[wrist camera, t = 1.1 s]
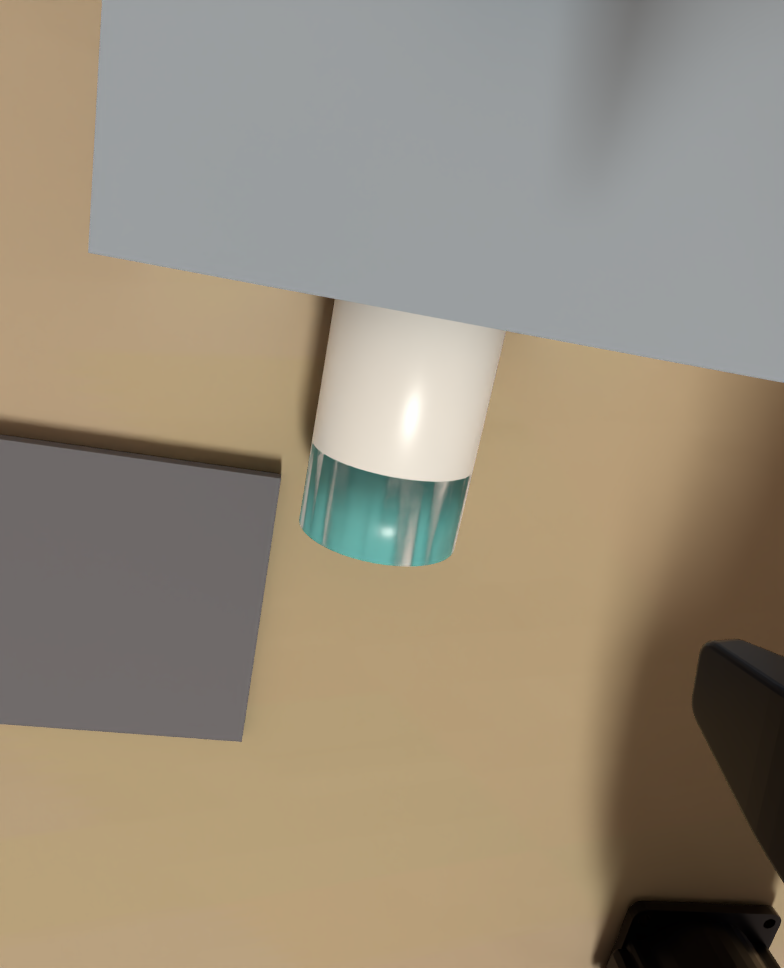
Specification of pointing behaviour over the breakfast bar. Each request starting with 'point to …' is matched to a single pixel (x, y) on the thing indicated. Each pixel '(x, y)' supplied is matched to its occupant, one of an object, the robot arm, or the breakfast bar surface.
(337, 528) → the cylinder
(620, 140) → the housing
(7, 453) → the mat
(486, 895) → the breakfast bar surface
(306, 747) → the breakfast bar surface
